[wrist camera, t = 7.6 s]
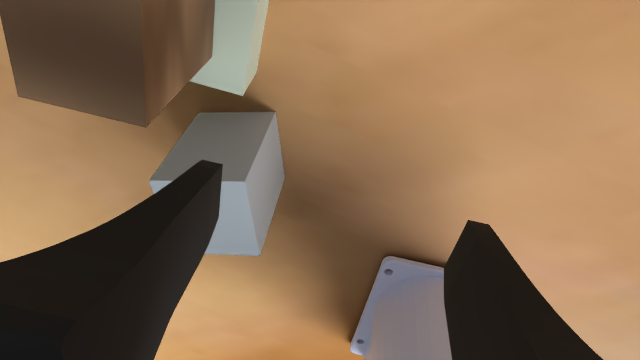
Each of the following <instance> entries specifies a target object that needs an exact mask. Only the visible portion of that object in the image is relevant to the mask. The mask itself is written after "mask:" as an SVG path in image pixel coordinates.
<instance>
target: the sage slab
mask: <svg viewBox="0 0 640 360" xmlns="http://www.w3.org/2000/svg"><path fill="white" fill-rule="evenodd" d="M268 3H269V0H215V13H214V32H213V52H212V58H211V59H210V60H209V61H208V62H207V63H206V64H205V65H204V66H203V67H202V68H201V69H200V70H199V71H198V72H197V74H196V75H195V76H194V77H193V78H192V79H191V80H190V82H194V83H198V84H201V85H205V86H208V87H212V88H215V89H219V90H223V91H226V92H230V93H233V94H237V95H241V96H243V94H244V93H245V91H246V89H247V88H248V86H249V84H250V83H251V81H252V79H253V78H254V76H255V74H256V72H257V67H258V61H259V55H260V50H261V44H262V38H263V32H264V27H265V21H266V15H267V9H268Z"/></svg>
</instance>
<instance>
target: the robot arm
mask: <svg viewBox="0 0 640 360" xmlns="http://www.w3.org/2000/svg"><path fill="white" fill-rule="evenodd" d="M222 170H223V164H220V163H215V162H211V161H207V160H201V161H199V162H197V163H196V164H195V165H193V166H192V167H191V168H189V169H188V170H187V171H185V172H184V173H183V174H181V175H180V176H179V177H177V178H176V179H175V180H173V181H172V182H171V183H169V184H168V185H166V186H165V187H163V188H162V189H161V190H159V191H158V192H156V193H155V194H153V195H152V196H150V197H149V198H147V199H146V200H144V201H143V202H141V203H139V204H138V205H136V206H134V207H133V208H131V209H130V210H128V211H126V212H125V213H123V214H121V215H119V216H117V217H116V218H114V219H112V220H110V221H108V222H106V223H104V224H102V225H100V226H98V227H96V228H94V229H92V230H90V231H87V232H85V233H83V234H80V235H78V236H75V237H73V238H71V239H68V240H66V241H63V242H61V243H58V244H56V245H53V246H50V247H48V248H45V249H42V250H39V251H36V252H33V253H30V254H27V255H24V256H21V257H18V258H14V259H11V260H8V261H4V262H0V360H154V358H155V355H156V352H157V350H158V348H159V345H160V343H161V340H162V338H163V335H164V333H165V330H166V328H167V325H168V323H169V321H170V319H171V316H172V314H173V312H174V310H175V308H176V306H177V304H178V302H179V301H180V299H181V297H182V295H183V293H184V291H185V289H186V287H187V286H188V284H189V282H190V280H191V278H192V276H193V274H194V272H195V270H196V269H197V267H198V265H199V263H200V261H201V259H202V257H203V255H204V253H205V251H206V249H207V248H208V245H209V243H210V240H211V237H212V235H213V232H214V229H215V227H216V224H217V221H218V218H219V208H220V195H221V183H222ZM386 269H390V271H389V270H386ZM350 350H351V352H353V353H355V354H358V355H363V356H364V359H363V360H603V359H602V358H601V357H600V356H599V355H598V354H596V353H595V352H594V351H593V350H592V349H591V348H590V347H589V346H588V345H587V344H586V343H585V342H584V341H583V340H582V339H581V338H580V337H579V336H578V335H577V334H576V333H575V332H574V331H573V330H572V329H571V328H570V327H569V326H568V325H567V324H566V323H565V321H564V320H563V319H562V318H561V317H560V316H559V315H558V314H557V313H556V311H555V310H554V309H553V308H552V307H551V306H550V304H549V303H548V302H547V301H546V300H545V298H544V297H543V296H542V295H541V294H540V292H539V291H538V290H537V289H536V287H535V286H534V285H533V284H532V282H531V281H530V280H529V278H528V277H527V276H526V274H525V273H524V272H523V270H522V269H521V268H520V266H519V265H518V264H517V262H516V261H515V260H514V258H513V257H512V255H511V254H510V253H509V251H508V250H507V248H506V247H505V246H504V244H503V243H502V241H501V240H500V239H499V237H498V236H497V235H496V233H495V232H494V230H493V229H492V228H491V227H490V225H488V224H484V223H479V222H475V221H470V220H468V222H467V224H466V226H465V228H464V229H463V231H462V233H461V235H460V237H459V239H458V241H457V243H456V245H455V247H454V249H453V251H452V253H451V255H450V257H449V259H448V261H447V263H446V265H445V267H444V268H442V267H438V266H434V265H429V264H425V263H420V262H416V261H411V260H407V259H403V258H398V257H394V256H388V257H385V258H384V259H383V261H382V263H381V266H380V268H379V271H378V274H377V276H376V279H375V282H374V284H373V287H372V289H371V292H370V295H369V297H368V300H367V302H366V305H365V308H364V310H363V313H362V316H361V318H360V321H359V323H358V326H357V329H356V331H355V334H354V336H353V339H352V342H351V344H350Z"/></svg>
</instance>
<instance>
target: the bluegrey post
mask: <svg viewBox="0 0 640 360" xmlns="http://www.w3.org/2000/svg"><path fill="white" fill-rule="evenodd" d="M201 160H207V161H211V162H215V163H220V164H223V170H222V183H221V195H220V208H219V218H218V221H217V224H216V227H215V229H214V232H213V235H212V237H211V240H210V243H209V245H208V248H207V249H206V251H205V253H204V254H220V255H249V256H260V254H261V251H262V248H263V245H264V242H265V239H266V236H267V232H268V229H269V226H270V223H271V220H272V217H273V214H274V211H275V208H276V205H277V201H278V198H279V195H280V192H281V189H282V186H283V183H284V180H285V175H284V168H283V160H282V153H281V146H280V139H279V132H278V125H277V118H276V112H201V113H198V114H197V115H196V117H195V118H194V119H193V121H192V122H191V124H190V125H189V126H188V128H187V129H186V130H185V132H184V133H183V135H182V136H181V137H180V139H179V140H178V141H177V143H176V144H175V146H174V147H173V148H172V150H171V151H170V152H169V154H168V155H167V157H166V158H165V159H164V161H163V162H162V163H161V165H160V166H159V168H158V169H157V170H156V172H155V173H154V174H153V176H152V177H151V179H150V180H149V182H150V185H151V188H152V191H153V194H155V193H156V192H158V191H159V190H161V189H162V188H163V187H165V186H166V185H168V184H169V183H171V182H172V181H173V180H175V179H176V178H177V177H179V176H180V175H181V174H183V173H184V172H185V171H187V170H188V169H189V168H191V167H192V166H193V165H195V164H196V163H197V162H199V161H201Z"/></svg>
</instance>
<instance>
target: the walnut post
mask: <svg viewBox="0 0 640 360" xmlns="http://www.w3.org/2000/svg"><path fill="white" fill-rule="evenodd" d="M214 13H215V0H0V16H1V21H2V25H3V30H4V34H5V39H6V43H7V48H8V53H9V57H10V62H11V66H12V71H13V75H14V80H15V85H16V89H17V94H18V97H22V98H26V99H30V100H35V101H39V102H43V103H47V104H51V105H55V106H59V107H64V108H68V109H72V110H76V111H80V112H84V113H88V114H93V115H97V116H101V117H105V118H109V119H113V120H117V121H122V122H126V123H130V124H134V125H138V126H142V127H147V126H148V125H149V123H150V122H151V121H152V120H153V119H154V118H155V117H156V116H157V115H158V114H159V113H160V112H161V111H162V110H163V109H164V108H165V106H166V105H167V104H168V103H169V102H170V101H171V100H172V99H173V98H174V97H175V96H176V95H177V94H178V93H179V92H180V91H181V89H182V88H183V87H184V86H185V85H186V84H187V83H188V82H189V81H190V80H191V79H192V78H193V77H194V76H195V75H196V74H197V72H198V71H199V70H200V69H201V68H202V67H203V66H204V65H205V64H206V63H207V62H208V61H209V60H210V59H211V58H212V52H213V32H214Z"/></svg>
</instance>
